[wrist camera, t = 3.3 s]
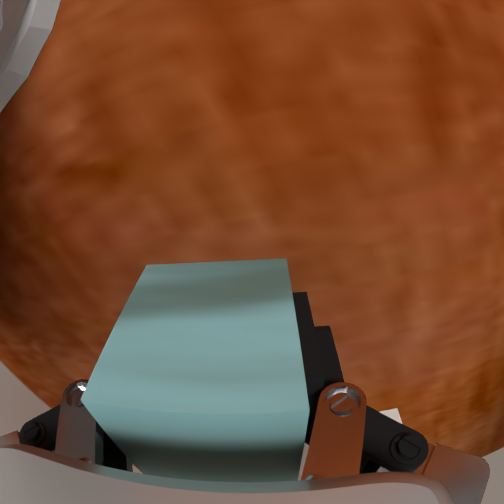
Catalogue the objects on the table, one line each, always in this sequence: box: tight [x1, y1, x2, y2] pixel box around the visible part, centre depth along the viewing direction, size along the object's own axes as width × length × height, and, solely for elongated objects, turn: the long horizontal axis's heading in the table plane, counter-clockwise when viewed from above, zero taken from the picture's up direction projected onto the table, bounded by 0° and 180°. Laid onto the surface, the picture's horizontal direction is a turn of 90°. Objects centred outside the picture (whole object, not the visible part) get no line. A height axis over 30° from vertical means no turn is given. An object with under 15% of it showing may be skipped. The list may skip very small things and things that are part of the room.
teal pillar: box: [81, 258, 310, 483], centre depth 9 cm, size 5×5×6 cm
